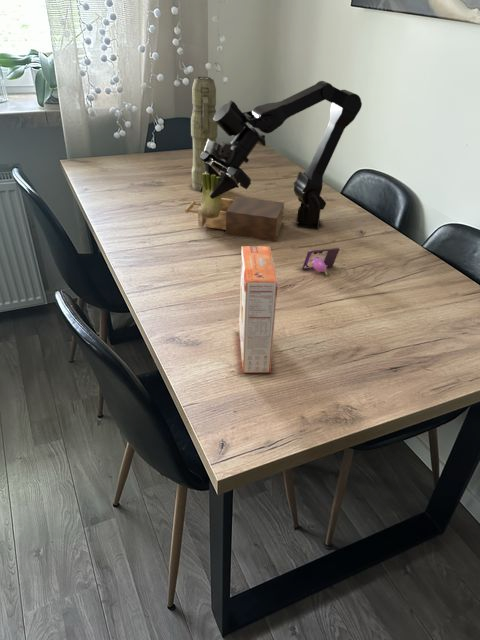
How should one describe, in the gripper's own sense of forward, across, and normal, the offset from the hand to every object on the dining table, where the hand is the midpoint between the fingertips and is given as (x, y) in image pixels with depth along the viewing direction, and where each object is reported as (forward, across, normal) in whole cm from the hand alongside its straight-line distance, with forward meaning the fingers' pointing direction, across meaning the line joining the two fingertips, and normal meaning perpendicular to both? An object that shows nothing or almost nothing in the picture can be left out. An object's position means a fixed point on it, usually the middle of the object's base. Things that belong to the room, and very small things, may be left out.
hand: (206, 194), depth 139 cm
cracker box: (+23, +52, -4) cm, 57 cm away
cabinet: (-2, 0, +21) cm, 21 cm away
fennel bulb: (+4, 0, +6) cm, 7 cm away
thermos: (-6, -38, +25) cm, 45 cm away
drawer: (+3, -8, +15) cm, 17 cm away
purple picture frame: (-2, +32, +21) cm, 38 cm away
